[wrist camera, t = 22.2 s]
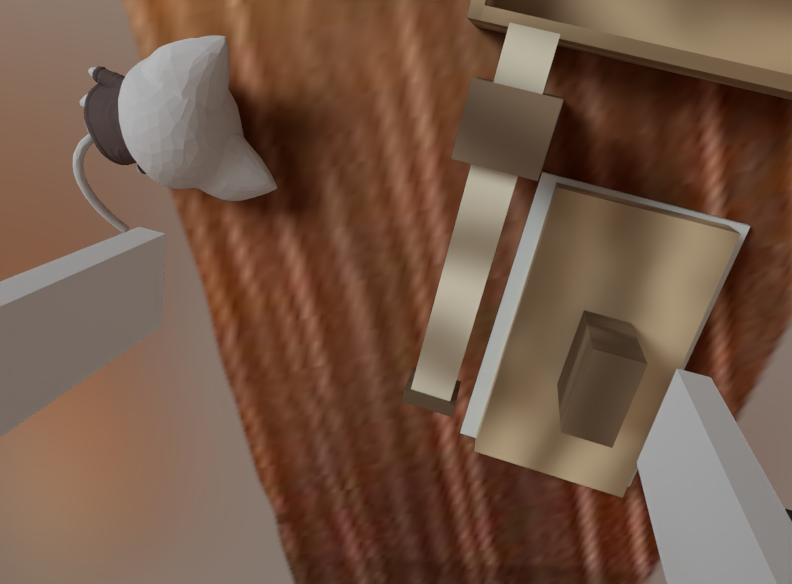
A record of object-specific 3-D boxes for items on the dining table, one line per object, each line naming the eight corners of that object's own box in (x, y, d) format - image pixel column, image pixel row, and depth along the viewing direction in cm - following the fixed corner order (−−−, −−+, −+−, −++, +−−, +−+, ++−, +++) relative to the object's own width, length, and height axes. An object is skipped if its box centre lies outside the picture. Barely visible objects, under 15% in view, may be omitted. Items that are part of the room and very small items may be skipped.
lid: (476, 433, 48) (465, 505, 40) (556, 182, 41) (562, 206, 32) (618, 477, 47) (636, 561, 39) (728, 225, 39) (781, 262, 31)
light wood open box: (530, -191, 35) (529, -326, 23) (926, -118, 32) (1143, -231, 21) (449, 132, 42) (418, 150, 30) (769, 214, 39) (867, 267, 28)
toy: (166, 181, 53) (308, 190, 47) (94, 237, 47) (246, 256, 41) (93, 26, 44) (254, 13, 38) (-6, 71, 39) (166, 63, 32)
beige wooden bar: (505, 26, 31) (502, 20, 28) (564, 40, 31) (568, 35, 28) (411, 377, 39) (401, 401, 36) (457, 391, 39) (451, 417, 36)
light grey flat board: (542, 171, 41) (542, 172, 41) (747, 224, 40) (750, 226, 39) (461, 429, 49) (460, 433, 49) (628, 482, 48) (629, 487, 47)
